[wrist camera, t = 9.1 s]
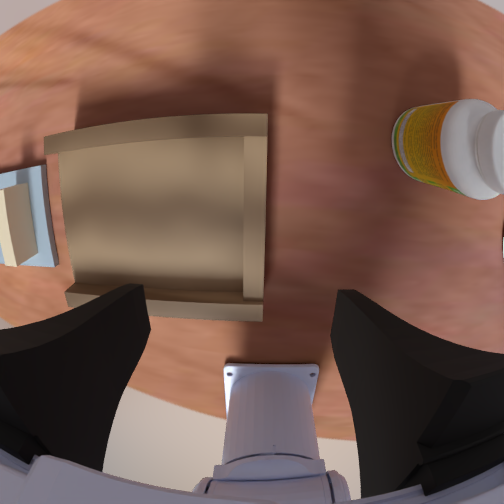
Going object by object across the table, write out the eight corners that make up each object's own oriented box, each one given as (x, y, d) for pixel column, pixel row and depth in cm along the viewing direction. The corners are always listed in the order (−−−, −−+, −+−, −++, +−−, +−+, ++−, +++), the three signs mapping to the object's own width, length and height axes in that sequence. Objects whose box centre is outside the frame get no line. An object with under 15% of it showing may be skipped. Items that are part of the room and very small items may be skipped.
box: (262, 294, 21) (262, 321, 18) (90, 285, 22) (68, 306, 18) (266, 120, 17) (267, 113, 14) (73, 135, 18) (44, 136, 14)
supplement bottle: (398, 188, 19) (488, 227, 9) (380, 113, 17) (469, 96, 8) (455, 173, 18) (549, 201, 9) (441, 103, 16) (536, 94, 7)
